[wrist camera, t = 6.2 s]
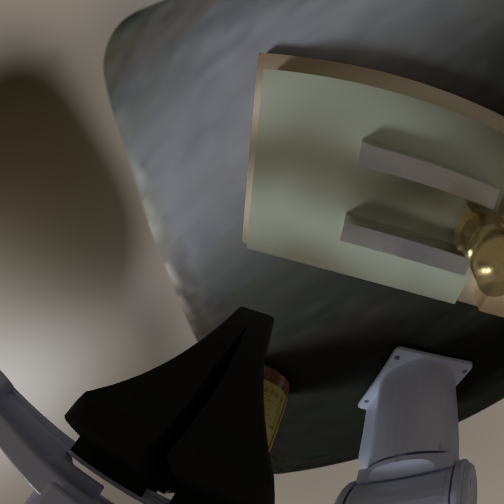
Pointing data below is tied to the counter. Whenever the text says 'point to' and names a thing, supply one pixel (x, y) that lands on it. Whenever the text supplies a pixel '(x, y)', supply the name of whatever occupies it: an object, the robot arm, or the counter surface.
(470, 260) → the bolt
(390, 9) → the counter surface
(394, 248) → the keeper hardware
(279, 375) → the sauce bottle
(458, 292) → the door and jamb
